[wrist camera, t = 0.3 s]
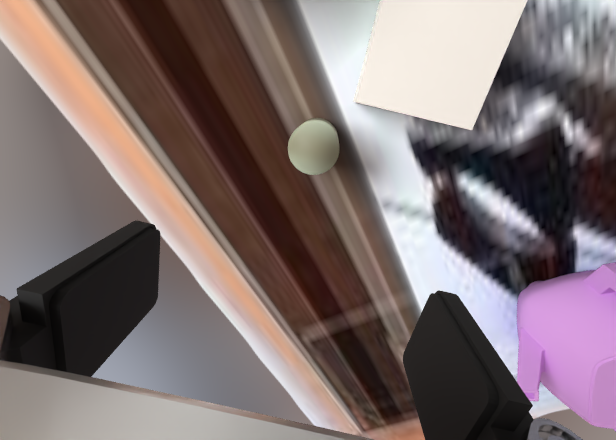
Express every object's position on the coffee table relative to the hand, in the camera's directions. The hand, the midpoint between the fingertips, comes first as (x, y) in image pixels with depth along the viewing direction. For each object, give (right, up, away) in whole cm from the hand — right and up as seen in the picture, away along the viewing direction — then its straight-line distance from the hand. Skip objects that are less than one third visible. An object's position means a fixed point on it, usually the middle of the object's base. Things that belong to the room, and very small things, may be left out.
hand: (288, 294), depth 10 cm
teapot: (+37, -9, +31) cm, 49 cm away
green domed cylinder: (+2, +12, +25) cm, 28 cm away
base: (+13, +20, +21) cm, 31 cm away
